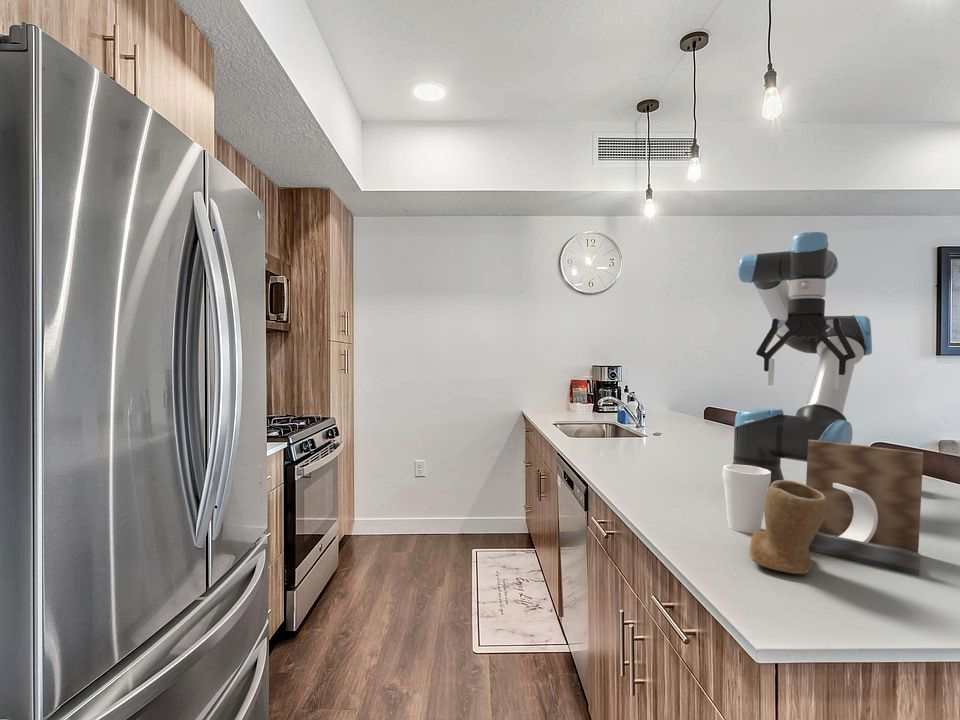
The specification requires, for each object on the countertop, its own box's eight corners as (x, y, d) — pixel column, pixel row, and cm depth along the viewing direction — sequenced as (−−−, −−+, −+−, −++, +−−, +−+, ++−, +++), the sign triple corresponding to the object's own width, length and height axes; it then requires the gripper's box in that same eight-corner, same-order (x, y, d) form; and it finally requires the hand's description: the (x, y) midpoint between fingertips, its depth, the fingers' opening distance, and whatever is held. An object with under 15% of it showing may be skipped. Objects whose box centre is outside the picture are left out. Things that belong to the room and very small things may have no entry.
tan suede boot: (825, 587, 88) (829, 497, 87) (745, 569, 94) (748, 485, 94) (822, 557, 101) (826, 479, 100) (752, 543, 107) (755, 469, 106)
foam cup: (764, 524, 119) (767, 467, 119) (772, 538, 110) (775, 476, 110) (718, 519, 122) (720, 462, 122) (722, 531, 113) (725, 471, 113)
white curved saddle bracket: (829, 542, 106) (832, 482, 106) (855, 541, 107) (858, 482, 107) (849, 551, 101) (852, 489, 101) (876, 550, 102) (879, 488, 102)
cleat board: (795, 547, 105) (799, 447, 105) (805, 530, 116) (809, 439, 115) (919, 575, 93) (925, 462, 93) (917, 553, 104) (923, 452, 103)
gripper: (745, 298, 132) (742, 384, 132) (870, 295, 116) (865, 391, 117) (752, 301, 137) (748, 382, 138) (871, 298, 122) (867, 390, 122)
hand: (802, 387), depth 127 cm, fingers open, 13 cm apart
